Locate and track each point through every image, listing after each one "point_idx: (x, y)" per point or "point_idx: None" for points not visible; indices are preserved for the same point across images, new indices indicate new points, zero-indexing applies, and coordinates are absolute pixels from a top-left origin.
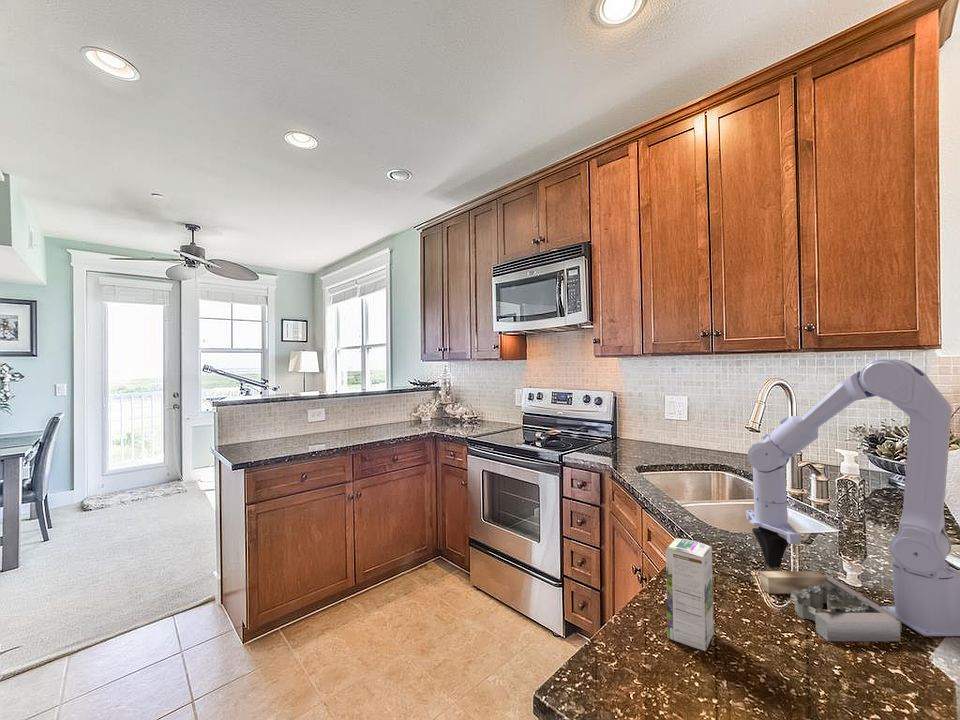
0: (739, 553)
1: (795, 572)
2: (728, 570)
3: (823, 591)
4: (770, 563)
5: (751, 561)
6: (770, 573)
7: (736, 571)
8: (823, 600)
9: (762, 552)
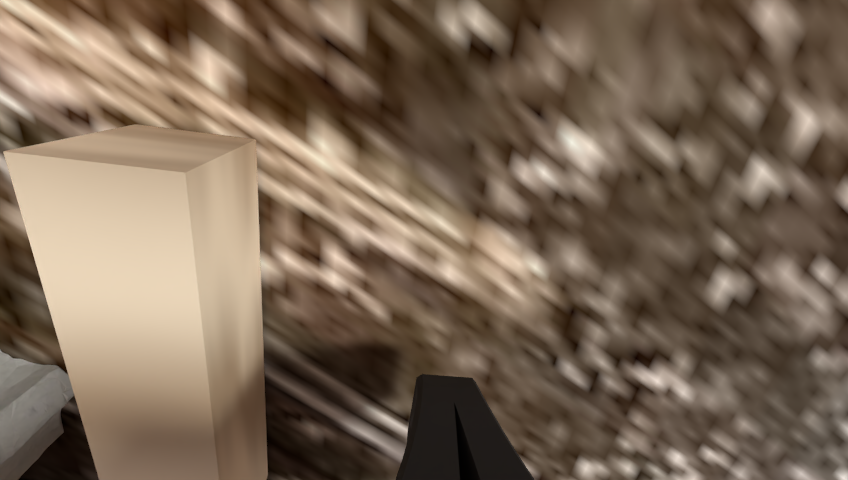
0: (795, 363)
1: (195, 464)
2: (605, 78)
3: (11, 452)
4: (416, 403)
5: (664, 358)
6: (139, 254)
7: (566, 140)
8: (67, 399)
9: (519, 458)
